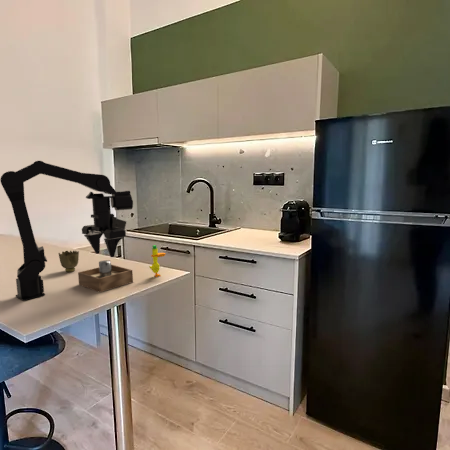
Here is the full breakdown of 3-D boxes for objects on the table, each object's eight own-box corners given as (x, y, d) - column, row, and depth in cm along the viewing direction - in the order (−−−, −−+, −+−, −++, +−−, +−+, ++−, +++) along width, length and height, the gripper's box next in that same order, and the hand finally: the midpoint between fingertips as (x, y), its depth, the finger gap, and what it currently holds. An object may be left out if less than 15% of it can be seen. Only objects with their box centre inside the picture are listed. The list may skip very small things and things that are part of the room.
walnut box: (99, 292, 108) (98, 279, 108) (79, 284, 117) (78, 272, 116) (132, 282, 119) (132, 270, 118) (112, 275, 127) (111, 264, 126)
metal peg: (104, 286, 115) (102, 263, 114) (98, 283, 117) (96, 262, 116) (114, 283, 118) (113, 261, 117) (108, 281, 120) (106, 259, 119)
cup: (72, 274, 129) (70, 254, 128) (55, 273, 131) (54, 253, 130) (84, 269, 137) (82, 250, 135) (68, 268, 138) (66, 249, 137)
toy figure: (164, 273, 129) (163, 243, 127) (167, 275, 126) (166, 245, 124) (147, 276, 126) (146, 245, 124) (150, 278, 123) (149, 247, 121)
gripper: (137, 210, 115) (140, 254, 117) (107, 208, 126) (110, 248, 128) (109, 213, 106) (112, 260, 108) (79, 210, 117) (82, 253, 120)
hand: (104, 255), depth 116 cm, fingers open, 9 cm apart
